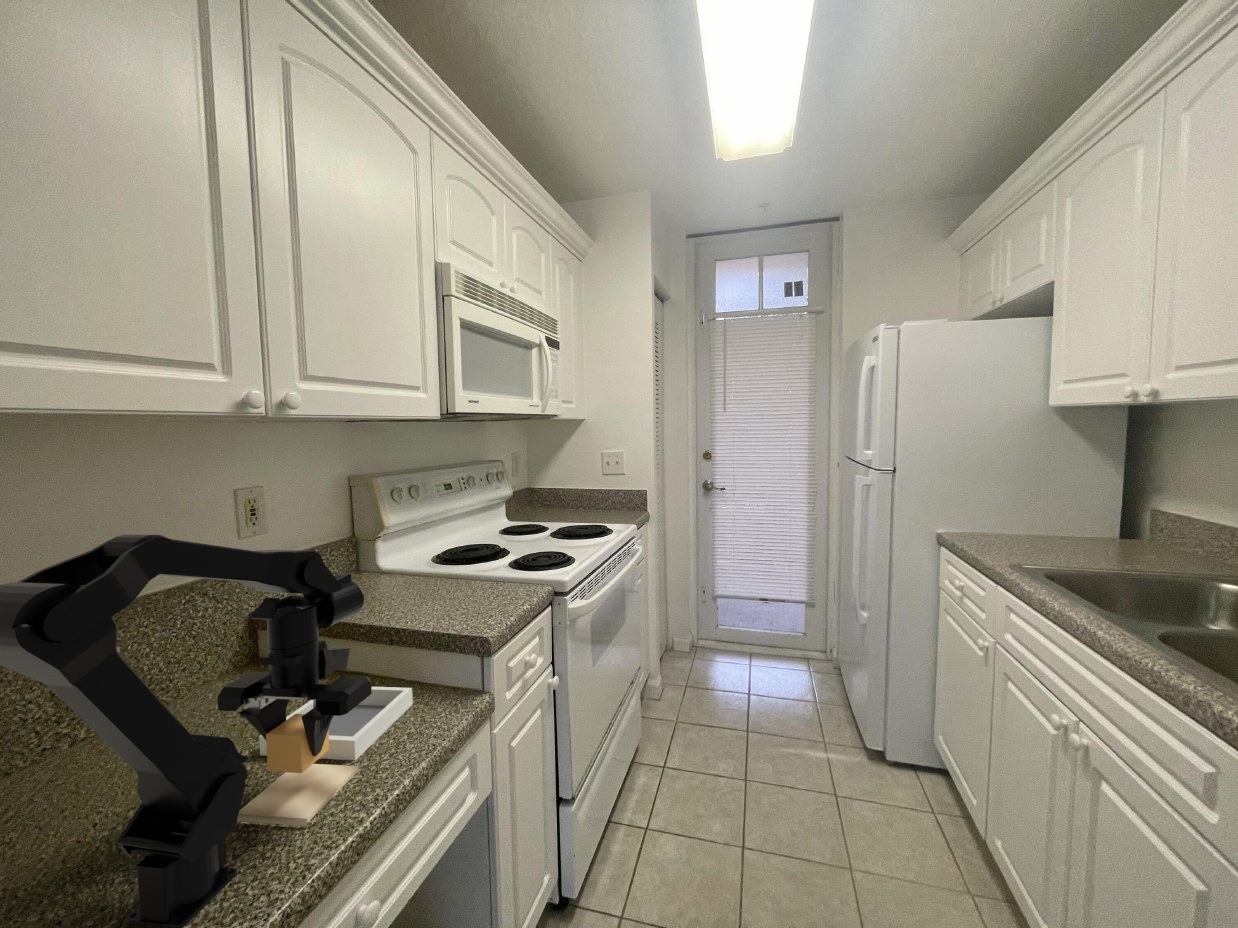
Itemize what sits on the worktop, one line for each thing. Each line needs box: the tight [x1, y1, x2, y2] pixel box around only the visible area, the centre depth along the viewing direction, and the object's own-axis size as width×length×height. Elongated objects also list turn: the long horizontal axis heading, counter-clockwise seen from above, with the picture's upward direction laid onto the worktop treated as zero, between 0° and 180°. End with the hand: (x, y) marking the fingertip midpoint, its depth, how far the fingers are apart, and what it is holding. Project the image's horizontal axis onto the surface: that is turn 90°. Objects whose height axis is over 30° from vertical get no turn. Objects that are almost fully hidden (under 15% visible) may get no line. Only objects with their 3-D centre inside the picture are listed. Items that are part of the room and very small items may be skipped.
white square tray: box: [258, 686, 414, 761], centre depth 81 cm, size 16×16×4 cm
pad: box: [237, 763, 360, 827], centre depth 66 cm, size 10×10×1 cm
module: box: [266, 714, 329, 773], centre depth 66 cm, size 5×5×5 cm
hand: (299, 753), depth 66 cm, fingers closed on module, 5 cm apart
